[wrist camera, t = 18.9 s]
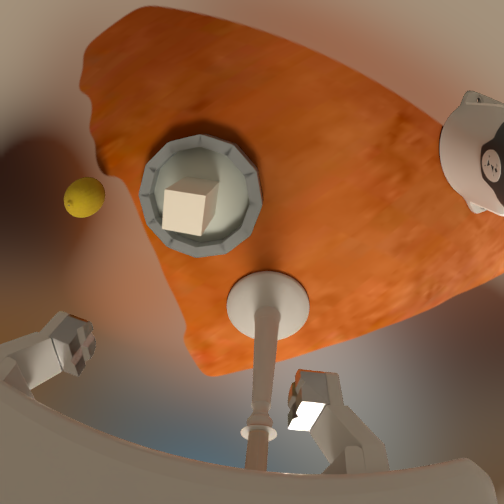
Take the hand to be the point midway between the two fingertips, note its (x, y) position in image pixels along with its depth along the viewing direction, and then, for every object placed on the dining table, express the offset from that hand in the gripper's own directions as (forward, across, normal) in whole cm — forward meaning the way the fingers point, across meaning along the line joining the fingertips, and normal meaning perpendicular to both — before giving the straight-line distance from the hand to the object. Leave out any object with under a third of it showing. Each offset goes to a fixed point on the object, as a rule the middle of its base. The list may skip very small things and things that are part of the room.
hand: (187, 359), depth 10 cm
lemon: (+31, +23, +4) cm, 39 cm away
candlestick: (+31, -6, +18) cm, 37 cm away
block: (+30, +6, +2) cm, 31 cm away
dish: (+31, +6, +2) cm, 32 cm away
